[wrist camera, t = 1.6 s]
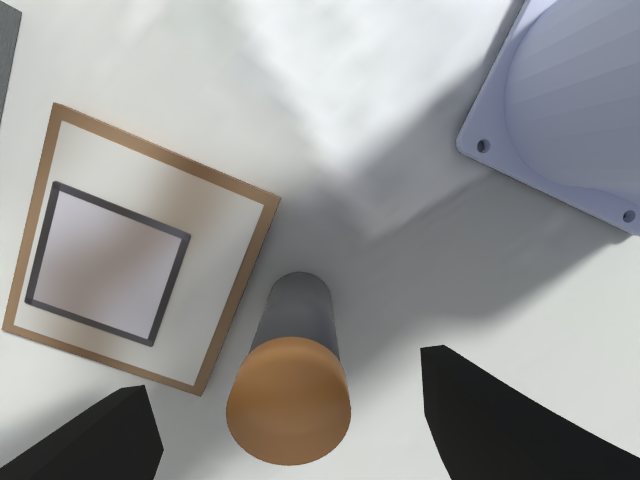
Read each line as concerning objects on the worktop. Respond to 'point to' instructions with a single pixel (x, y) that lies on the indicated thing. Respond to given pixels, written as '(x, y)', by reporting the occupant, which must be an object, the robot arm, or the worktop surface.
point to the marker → (291, 378)
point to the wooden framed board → (133, 253)
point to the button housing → (7, 45)
